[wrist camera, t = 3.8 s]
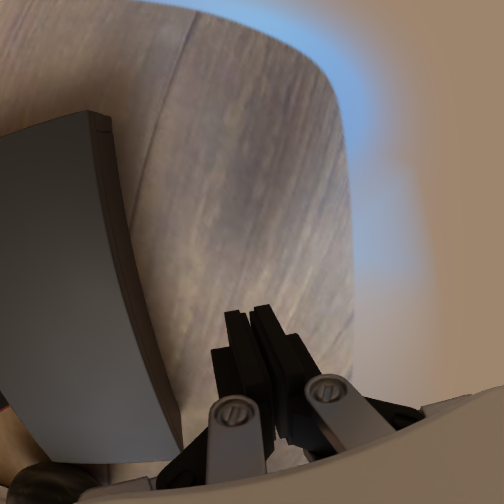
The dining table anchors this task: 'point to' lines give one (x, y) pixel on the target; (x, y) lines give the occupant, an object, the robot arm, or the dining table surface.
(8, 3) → the dining table surface
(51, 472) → the decorative stone
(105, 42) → the dining table surface
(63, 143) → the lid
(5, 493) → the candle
